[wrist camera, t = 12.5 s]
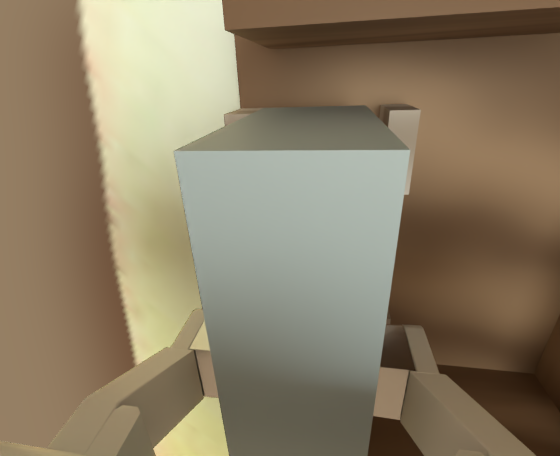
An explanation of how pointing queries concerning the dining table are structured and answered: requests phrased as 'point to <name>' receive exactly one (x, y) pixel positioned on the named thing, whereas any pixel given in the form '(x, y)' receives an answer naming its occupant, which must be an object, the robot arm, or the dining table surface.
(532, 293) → the wooden box
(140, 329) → the dining table surface
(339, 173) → the grey box with stripe
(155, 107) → the dining table surface
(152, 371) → the robot arm
